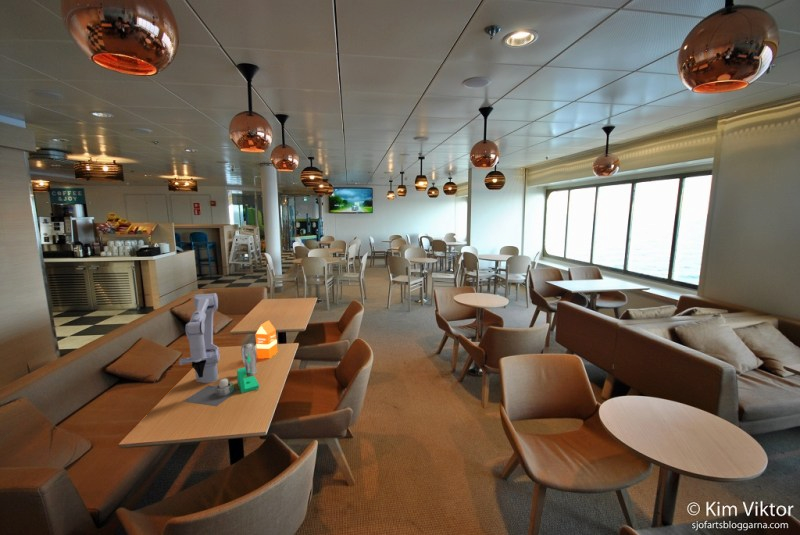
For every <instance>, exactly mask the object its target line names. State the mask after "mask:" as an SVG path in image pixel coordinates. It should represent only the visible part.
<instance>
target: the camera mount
mask: <svg viewBox="0 0 800 535" xmlns="http://www.w3.org/2000/svg"><path fill="white" fill-rule="evenodd" d="M236 376H237V378H236V382H237V385H238V387H239V389H240V390H239V391H240V392H241V394H244V393H247V392H251V391H255V390H258V389H260V383H259V382H258V380H257V378H256V377H255V375H251V376H247V373H246V368H245V367H240V368H237V369H236Z"/></svg>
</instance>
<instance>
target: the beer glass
mask: <svg viewBox="0 0 800 535" xmlns="http://www.w3.org/2000/svg"><path fill="white" fill-rule="evenodd" d="M240 347H241V359H242V362H243V367H244V368H246V373H247V377H251V376H255V375H256V374H257V373H258V369H257V358H258V356H257V347H256V343H245V344H243V345H241V346H240Z"/></svg>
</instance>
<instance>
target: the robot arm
mask: <svg viewBox="0 0 800 535" xmlns="http://www.w3.org/2000/svg"><path fill="white" fill-rule="evenodd" d="M193 305H194V307H195V311H193V312H192V314H191V317H190V320H189V321H188V322H187V323H186V324H185V330H184V331H185V335H186V337H187V341H188V343H189V353H190V357H186V358H181V359H179V366H183V365H185V364H191V367H192V369H194V374H195V380H196V382H197V383H203V384H210V383H214V382H216V381H217V380H219V371H218V363H219V362H220V361H221V360H220V359H221V358H220V357H221V354H220V353H221V352H220V348H219V346H217V345H216V344H214V314H215V312H216V311H218V308H219V297H218V294H217V293H216V292H214V293H212V292H211V293H202V294H195V295H194V296H193Z"/></svg>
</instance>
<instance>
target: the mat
mask: <svg viewBox="0 0 800 535" xmlns="http://www.w3.org/2000/svg"><path fill="white" fill-rule="evenodd" d="M215 386H216V385H210V384H209V385H207V386H205V387H204V388H202V389H201V390H199V391H197V392H195V393H193V394H192V395H190V396H189V397H187V398H186V399H184V400H183V402H187V403H192V404H198V405H204V406H206V405H207V406H211V407H212V406H213V407H218V406H219V405H221V404H222V403H223V402H225V401H226V400H228V399H229V398H230V397H232V396H234V395H235V394H236V393H238V392H239V391H241V390H240V388H239V389H237V388H234V391H233V393H232V394H230V395H228V396H225V397H217V396H216V395H215Z"/></svg>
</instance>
